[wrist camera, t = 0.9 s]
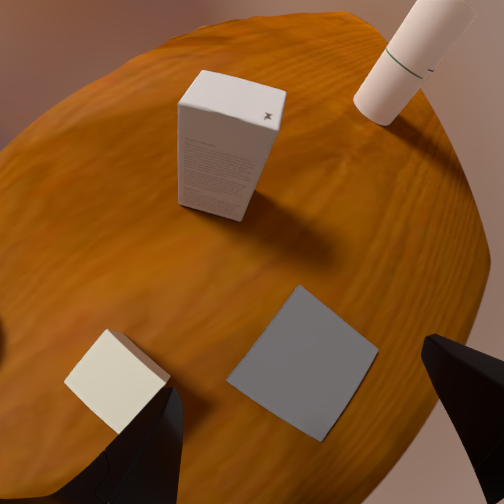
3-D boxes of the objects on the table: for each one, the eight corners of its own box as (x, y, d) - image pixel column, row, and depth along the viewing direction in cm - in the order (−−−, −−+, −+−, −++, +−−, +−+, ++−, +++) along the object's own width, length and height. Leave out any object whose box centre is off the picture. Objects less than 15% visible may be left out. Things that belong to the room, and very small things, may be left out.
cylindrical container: (398, 124, 38) (484, 20, 15) (372, 127, 35) (467, 3, 12) (372, 94, 39) (445, -10, 16) (345, 94, 37) (421, -28, 14)
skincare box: (251, 186, 27) (290, 91, 16) (240, 223, 25) (281, 132, 14) (191, 168, 26) (201, 67, 15) (176, 205, 25) (176, 103, 14)
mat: (317, 439, 20) (320, 441, 19) (225, 379, 21) (226, 381, 20) (373, 350, 24) (378, 349, 23) (296, 286, 25) (299, 284, 24)
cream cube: (134, 418, 18) (120, 435, 13) (88, 376, 18) (63, 381, 14) (170, 375, 20) (166, 382, 15) (123, 333, 20) (106, 328, 16)
